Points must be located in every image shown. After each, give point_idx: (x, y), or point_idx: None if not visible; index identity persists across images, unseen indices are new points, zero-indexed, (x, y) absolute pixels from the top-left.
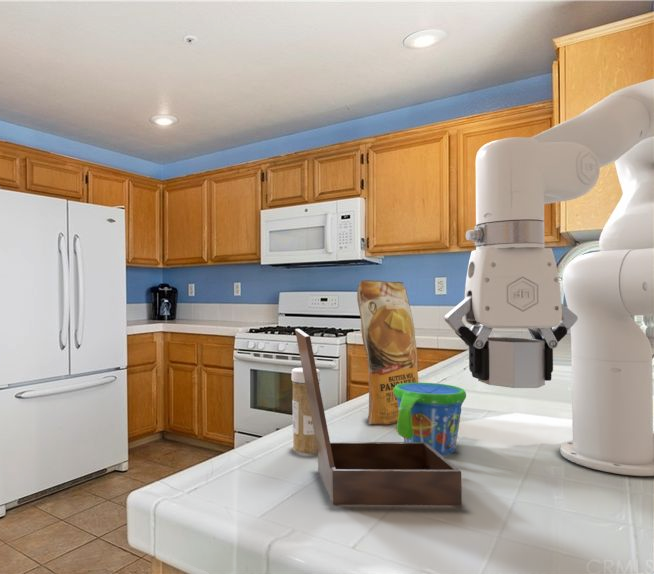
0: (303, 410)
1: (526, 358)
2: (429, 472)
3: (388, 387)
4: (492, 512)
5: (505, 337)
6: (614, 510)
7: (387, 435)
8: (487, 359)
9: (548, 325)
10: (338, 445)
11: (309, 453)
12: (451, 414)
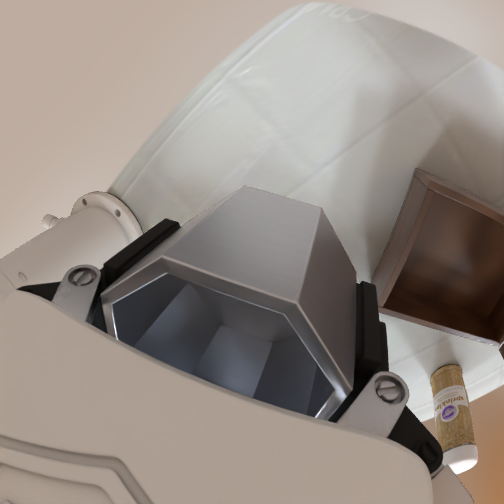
0: (468, 412)
1: (252, 235)
2: (472, 199)
3: None
4: (379, 148)
5: None
6: (209, 114)
7: None
8: (365, 325)
9: (44, 302)
10: (484, 335)
11: (455, 366)
12: None
